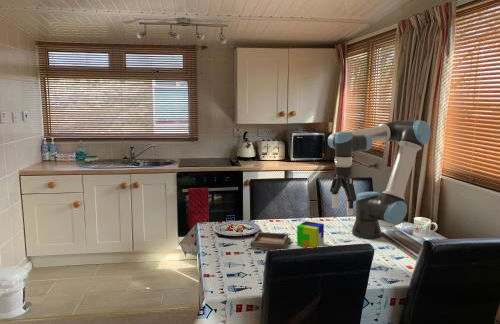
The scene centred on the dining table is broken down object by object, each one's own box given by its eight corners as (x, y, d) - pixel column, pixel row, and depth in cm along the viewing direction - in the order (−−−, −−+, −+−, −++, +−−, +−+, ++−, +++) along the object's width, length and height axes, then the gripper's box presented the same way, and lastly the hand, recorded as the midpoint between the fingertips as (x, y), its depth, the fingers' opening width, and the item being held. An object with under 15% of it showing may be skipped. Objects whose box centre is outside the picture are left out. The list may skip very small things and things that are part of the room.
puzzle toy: (323, 243, 195) (323, 223, 194) (315, 249, 187) (316, 229, 185) (305, 239, 200) (305, 221, 199) (297, 245, 192) (297, 226, 191)
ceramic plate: (206, 236, 208) (205, 230, 207) (225, 222, 232) (225, 218, 231) (250, 241, 199) (250, 235, 198) (265, 227, 223) (265, 222, 222)
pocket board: (256, 236, 205) (256, 231, 205) (290, 239, 201) (290, 233, 200) (248, 248, 188) (248, 242, 188) (284, 251, 184) (284, 245, 183)
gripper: (323, 162, 185) (322, 205, 188) (349, 170, 161) (348, 219, 164) (337, 161, 187) (336, 204, 190) (365, 169, 163) (364, 217, 166)
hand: (342, 211), depth 177 cm, fingers open, 13 cm apart
